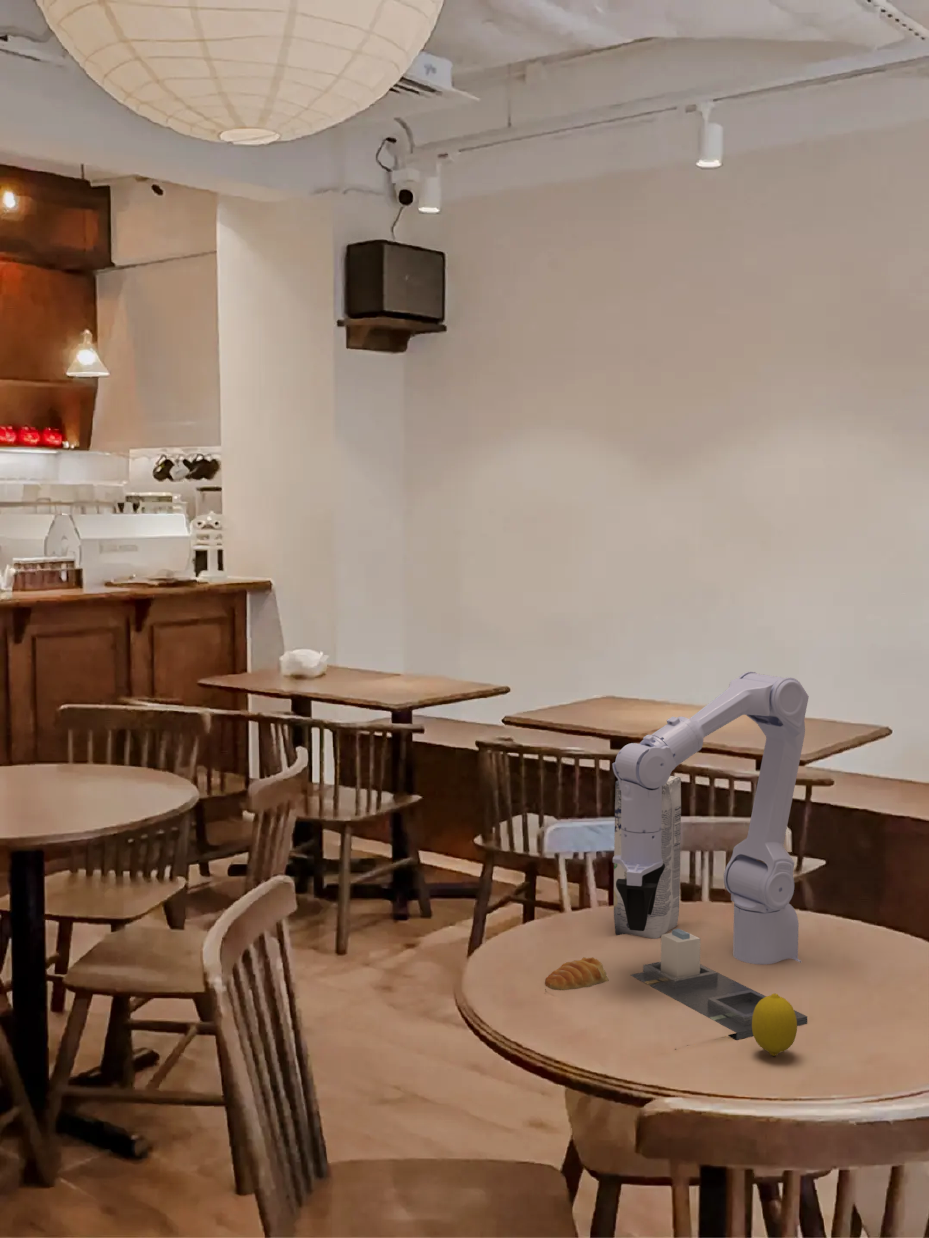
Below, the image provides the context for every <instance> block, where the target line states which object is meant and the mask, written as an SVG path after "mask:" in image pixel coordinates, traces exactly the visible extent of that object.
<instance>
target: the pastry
mask: <svg viewBox="0 0 929 1238" xmlns="http://www.w3.org/2000/svg"><path fill="white" fill-rule="evenodd" d="M544 980H545V982H544V985H545V987H547V988H549V989H551V990H555V991H556V990H558V991H569V990H578V989H582V988H590V987H593V986H595V985H598V984H601V983H605V982H606V983H607V982H609V980H610V979H609V976H608V975H607V972H606V970H605V969H604V965H603V963H602V962H601V961H600V960H599V959H597V958H595V957H588V958H587V957H582V958H581V959H580V960H573V961H567V962H566V961H565V962H564V963H562V964H561V966H560V967H558V968H557V969H555V970H553V971H551V973H549V974H548V976H547V977H546V978H545V979H544ZM544 990H547V989H546V988H545V989H544Z"/></svg>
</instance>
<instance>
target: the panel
mask: <svg viewBox="0 0 929 1238" xmlns="http://www.w3.org/2000/svg"><path fill="white" fill-rule="evenodd" d="M642 970H643V971H642V972H638V973H632V974H630V976H631V977H632V978H634V979H637V980H639V981H640V982H641V983H644V984H646V985H648V986H650V987H651V988H653V989H655V990H656V991H659V992H661V993H662V994H664V995H666V996H667V997H670V998H672V999H673V1000H674V1001H677V1002H679V1003H680V1004H683V1005H684V1006H686V1007H688V1008H690V1009H692V1010H694V1011H695V1012H698V1013H699V1014H701V1015H703V1016H705V1017H706V1018H708V1019H710V1020H712V1021H714V1022H715V1023H718V1024H720V1025H721V1026H723V1027H725V1028H726V1029H729V1030H730V1031H732V1032H734V1033H732V1034H731V1033H730V1034H727V1036H728V1037H731V1038H732V1039H733V1040H736V1041H739V1040H742V1039H747V1038H752V1037H754V1036H753V1032H752V1017H753V1012H754V1009H755V1007H756V1005H757V1004H758V1002H759V1001H760V1000H761V999H763V998H764V997H766V995H764V994H763V993H761V992H758V991H756V990H754V989H752V988H749V987H748V986H746V985H744V984H743V983H742V984H741V983H740V982H738V981H735V980H734V979H731V978H729V977H728V976H725V975H724V974H721V973H719V972H717V971H716V970H713V969H711V968H709V967H708V966H705V965H703V964H701V963H700V974H697V975H692V976H687V977H682V978H677V979H676V978H674V977H672V976H670V975H668V974H666V973H664V972H662V971H661V961H656V962H652V963H647V964H645V963H644V964H643V969H642ZM794 1012H795V1015H796V1020H797V1027H800V1026H804V1025H807V1024H808V1016H807V1015H805V1014H803V1013H801V1012H799V1011H797V1010H795V1009H794Z"/></svg>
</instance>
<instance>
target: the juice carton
mask: <svg viewBox="0 0 929 1238" xmlns="http://www.w3.org/2000/svg"><path fill="white" fill-rule="evenodd" d="M681 784H682V778H681V777H679V776H675V775H670V777H669V779H668V781H667V782H666V784H665V785H663V786H662V828H661V829H662V836H661V858H662V859H663V864H665V869H664V871H663V872H662V874H661V877H660V879H659V882H658V886H657V890H656V895H655V901H654V906H653V910H652V913H651V915H648V917H647V923H646V927H645V930H644V931H635V930H630V929H629V926H628V922H627V917H626V911H625V907H624V903H623V900H622V898H621V895H620V893H619V892H618V890H617V887H616V881H617V879H627V873H626V871H625V870H624V869H623V867H622V866H621V865H620V864H618V863H613V865H614V867H613V923H614V932H615V935H616V936H621V935H630V936H631V935H632V936H638V937H643V938H648V939H654V940H656V939H657V940H658V939H660V938H661V935H662V934H667V933H668V932H670V931H672V930H674V929H675V928H676V927H677V926H678V921H679V915H680V896H681V895H680V894H681V893H680V891H681V890H680V888H681V886H680V885H681V884H680V883H681V879H680V878H681V837H682V836H681V835H682V834H681V833H682V831H681V830H682V828H681V827H682V823H681V822H682V787H681V786H682V785H681ZM614 787H615V789H614V790H615V793H614V795H615V797H614V800H615V801H614V841H613V842H614V843H613V844H614V845H613V846H614V850H613V853H614V854H613V855H614V856H615V855H621V790H619V780H618V779H617V780H616V781H615V786H614ZM614 856H613V857H614Z"/></svg>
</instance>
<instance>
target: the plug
mask: <svg viewBox="0 0 929 1238" xmlns="http://www.w3.org/2000/svg"><path fill="white" fill-rule="evenodd" d="M660 962H661V971H662V972H664V973H666V974H668V975H670V976H672V977H674V978H676V979H677V978H682V977H687V976H692V975H697V974H700V964H701V937H699V936H696V935H694V934H692V933H690V932H687V931H685V930H683V929H680V928H673V929H671V932H669V933H668V932H666V933H665V934H662V935H661V937H660Z"/></svg>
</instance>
